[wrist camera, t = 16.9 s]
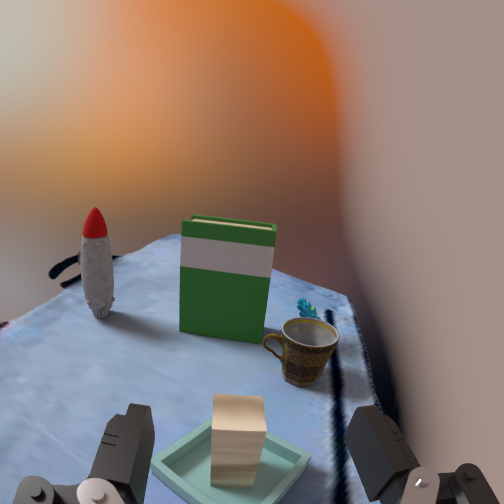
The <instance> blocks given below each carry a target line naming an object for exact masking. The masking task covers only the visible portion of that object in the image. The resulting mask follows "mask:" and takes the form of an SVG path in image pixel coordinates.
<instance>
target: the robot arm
mask: <svg viewBox="0 0 504 504" xmlns="http://www.w3.org/2000/svg"><path fill="white" fill-rule="evenodd" d="M345 439H346V444H347V446H348V449H349V451H350V454H351V456H352V459H353V461H354V464H355V466H356V469H357V471H358V474H359V476H360V479H361V482H362V484H363V487H364V489H365V492H366V494H367V497H368V499H369V502H373V501H376V500H380V502H381V504H500V503H499V502H498V500H497V498H496V496H495V494H494V493H493V491H492V489H491V487H490V486H489V484H488V482H487V481H486V479H485V477H484V475H483V474H482V472H481V470H480V469H479V468H478V467H477V466H476V465H473V464H470V463H467V464H463V465H461V466H459V467H458V469H457V470H456V471H455V472H452V473H440V474H438V473H436V472H435V471H434V470H433V469H431V468H428V467H421V466H420V464H419V463H418V461H417V459H416V457H415V456H414V454H413V452H412V450H411V449H410V447H409V445H408V444H407V442H406V440H404V437H403V435H402V433H400V430H399V428H398V426H397V425H396V423H395V422H394V421H393V420H392V419H390V418H389V417H388V416H387V415H382V414H381V412H380V410H379V409H378V407H377V406H376V405H370V406H363V407H357V408H356V410H355V412H354V414H353V417H352V419H351V421H350V423H349V426H348V428H347V430H346V434H345ZM154 440H155V432H154V425H153V420H152V414H151V408H150V406H145V405H139V404H132V403H131V404H130V405H129V407H128V410H127V413H126V416H125V415H119V414H116V415H115V416H114V417H113V418H112V419H111V420H110V421H109V422H108V423H107V426H106V429H105V431H104V435H103V437H102V440H101V444H100V445H99V448H98V451H97V454H96V457H95V460H94V463H93V466H92V469H91V472H90V474H89V476H88V478H87V479H86V480H85V481H83V482H82V483H80V484H77V485H72V486H65V485H51V484H50V483H49V482H48V481H47V480H45V479H44V478H42V477H39V476H28V477H26V478H24V479H23V480H22V481H21V482H20V484H19V486H18V489H17V492H16V495H15V497H14V500H13V503H12V504H143V503H144V497H145V491H146V485H147V479H148V473H149V468H150V463H151V457H152V452H153V447H154Z"/></svg>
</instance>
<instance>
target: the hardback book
mask: <svg viewBox="0 0 504 504" xmlns="http://www.w3.org/2000/svg"><path fill="white" fill-rule="evenodd" d="M276 229H277V224H271V223H263V222H254V221H245V220H237V219H228V218H219V217H210V216H201V215H192V219H191V221H190V220H183V221H182V236H181V261H180V332H186V333H191V334H197V335H203V336H209V337H215V338H221V339H228V340H235V341H242V342H249V343H257V344H261V342H262V335H263V328H264V321H265V314H266V307H267V300H268V292H269V285H270V277H271V270H272V262H273V254H274V247H275V239H276Z"/></svg>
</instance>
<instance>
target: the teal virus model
mask: <svg viewBox="0 0 504 504" xmlns="http://www.w3.org/2000/svg"><path fill="white" fill-rule="evenodd" d="M297 302H298V305H297V308H298V309H299V310H300V311H301V312H300V313H299V314H300V317H309V318H315V319H319V320H321V319H320V318H319V317H317V312H316V308H315V307H313V308H310V307H312V306H311V304H310V303H309V302H308V303H307V302H306V300H305V299H304V298H303V299H300V300H298V301H297ZM306 303H307V304H306Z"/></svg>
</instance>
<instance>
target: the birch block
mask: <svg viewBox="0 0 504 504" xmlns="http://www.w3.org/2000/svg"><path fill="white" fill-rule="evenodd" d="M266 432H267V429H266V421H265V413H264V405H263V397H262V396H241V395H224V394H214V401H213V416H212V434H211V472H210V486H213V487H232V488H253V485H254V481H255V477H256V473H257V470H258V466H259V462H260V457H261V453H262V449H263V445H264V441H265V437H266Z"/></svg>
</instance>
